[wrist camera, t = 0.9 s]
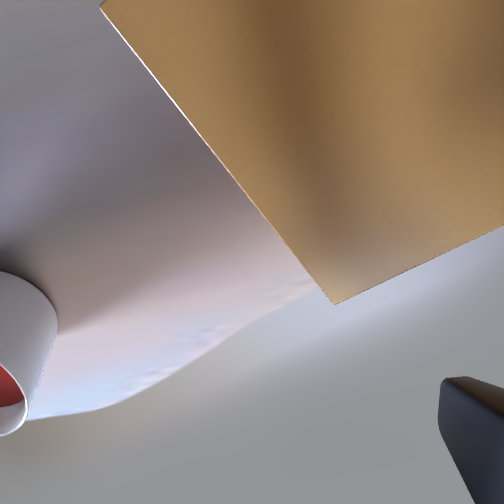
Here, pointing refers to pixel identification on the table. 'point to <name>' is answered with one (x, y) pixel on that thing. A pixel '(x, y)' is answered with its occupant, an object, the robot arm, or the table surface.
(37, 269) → the table surface
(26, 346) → the candle
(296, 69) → the cabinet
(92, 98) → the table surface
